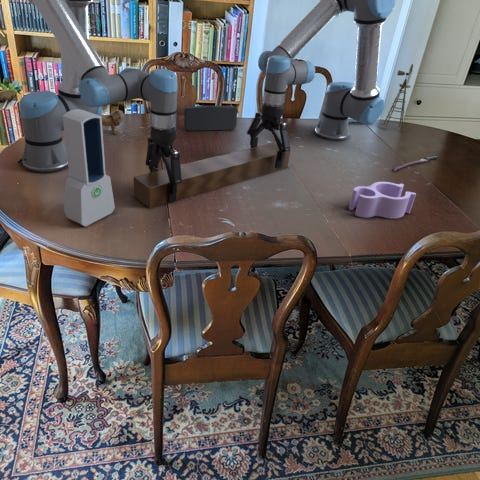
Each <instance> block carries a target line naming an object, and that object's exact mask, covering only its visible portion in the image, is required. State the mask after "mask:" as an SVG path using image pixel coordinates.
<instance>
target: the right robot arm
mask: <svg viewBox="0 0 480 480" xmlns="http://www.w3.org/2000/svg"><path fill="white" fill-rule="evenodd" d="M395 5H396V0H319V2H318V3H317V4H316V5H315V6H314V7H313V8H312V9H311V10H310V11H309V12H308V13H307V15H305V16H304V17H303V19H302V20H300V22H298V23H297V24H296V26H294V28H293V29H292V30H291V31H290V32H289V33H288V34H287V35H286V36H285V37H284V38H283V39H282V40H281V41H280V42H279V43H278V44H277V45H276V47H274V48H273V50H272V51H271V50H265V51H263V52H261V53H260V55H259V57H258V59H257V66H258V69H259V70H260V71H261V72H263V73H265V78H264V87H263V93H262V102H263V103H261V109H260V111H258V112H255V114H254V117H253V120H252V121H251V124H250V126H249V127H248V129H247V131H246V134H247V135H249V137H250V140H249V145H250V148H253V147H257V146H258V144H259V135H260V134H261V133H262V132H263V131H264V130H266V131H269V132H271V134H272V135H273V137H274V140H275V144H277V146H278V148H279V151H277V156H276V163H275V168H276V169H277V168H281V167H282V161H283V160H284V156H285V152H287V151H290V152H291V145H290V139H289V133H288V123H287V122H286V121H285V122H283V121H281V118H282V117H283V114H284V104H285V100H286V93H287V87H288V86H297V85H298V86H299V85H306V84H309V83H311V82H313V80H314V78H315V75H316V68H315V65H314V64H313V63H312V61H309V60H297V59H295V58H297V56H298V55H299V54H300V53H301V52H302V51H303V50H304V49H305V48H306V47H307V45H309V44H310V43H311V42H312V40H314V38H315V37H317V36H318V34H319V33H320V32H321V31H322V30H323V29H324V28H325V27H326V26H327V25H328V24H329V23H330V22H331V21H332V20H333V18H334V19H337V18H338V17H340V15H342V14H343V13H344V12H349V13H353V23H354V24H355V25H356V26H357V31H356V48H355V49H356V50H355V65H354V66H355V67H354V82H349V81H332V82H329V83H328V85H327V87H326V91H325V97H324V100H323V101H324V102H323V108H322V113H321V117H320V119H319V120H318V122H317V124H316V126H315V128H314V134H315V135H317V137H320V138H322V139H325V140H330V141H345V140H347V139H348V138H349V134H350V126H349V125H350V124H357V125H368V126H369V125H372V124H374V123H376V122H377V121H378V119H379V118H380V117H381V116H382V114H383V112H384V110H385V105H386V104H385V100H384V99H383V98H382V97H380V93H381V92H380V91H381V90H380V88H379V86H377V81H378V72H379V59H380V49H381V36H382V25H383V24H385V22H386V21H387V18H388V17H389V16H390V15H391V14H392V12H393V8H395ZM349 119H351V120H353V121H349Z"/></svg>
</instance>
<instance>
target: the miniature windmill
mask: <svg viewBox="0 0 480 480" xmlns="http://www.w3.org/2000/svg"><path fill="white" fill-rule="evenodd" d="M413 68H414V64H413V63H411V65H410V67H409V70H408V72H405V71H403V70H398V71H397V74H396V76H405V79H404V80H403V83H399V85H398V86H399V90H398V92H397V95H396V97H395V98H394V101H393V103H392V105H391V107H390V108H389V111H388V113H387V115H386V116H385V120H384V121H383V125H385V126H384V130H386V129H387V127H388V125H389V123H392V124H393V123H394V124H399V125H398V126H399V127H400V132H402V131H403V125H404V113H405V105H406V104H405V103H406V94H407V89H408V88H409V89H410V88H411V85H409V83H410V80H411V77H412V74H413ZM403 89H404V90H403ZM401 94H403V97H402V98H400V96H401ZM397 103H402V104H401V107H396V105H397ZM395 109H397V110H395ZM394 112H397V113H400V117H393V113H394ZM391 119H395V120H399V122H397V121H392V120H391ZM401 129H402V130H401Z"/></svg>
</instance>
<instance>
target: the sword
mask: <svg viewBox="0 0 480 480" xmlns="http://www.w3.org/2000/svg"><path fill="white" fill-rule="evenodd" d="M440 158H441V157H440V155H433V156H430V157H423V158H421V159H418V160H414V161H410V162H407V163H403V164H401V165H398V166H395V167H394V168H393V172H397V171H398V170H400V169H403V168H405V167H408V166H413V165H415V164H420V163H423V162H429V161H430V160H434V159H440Z"/></svg>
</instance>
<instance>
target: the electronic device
mask: <svg viewBox="0 0 480 480" xmlns="http://www.w3.org/2000/svg"><path fill="white" fill-rule="evenodd" d="M102 117H103V116H102V115H101V116H99V115H96V114H93V113H90V112H87V111H84V110H80V109H74V110H71V111H69V112H67V113H65V114H64V115H63V125H64V131H63V133H64V141H65V147H66V150H67V159H68V167H67V168H68V174H69V176H68V177H67V179H66V181H64V194H63V195H64V196H63V197H64V198H63V212H64V215H65V217H66V218H67V219H69V220H70V221H73V222H75V223H77V224H78V225H81V226H83V227H88V226H90V225H91V224H93V223H95V222H97V221H99V220H101V219H103V218H105V217H107V216H109V215H111V214H112V213H113V212H114V210H115V209H116V206H115V200H114V199H115V198H114V194H113V193H114V191H113V186H112V179H111V176H109V175H108V174H106V160H105V146H104V132H103V131H104V130H103V125H102Z"/></svg>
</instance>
